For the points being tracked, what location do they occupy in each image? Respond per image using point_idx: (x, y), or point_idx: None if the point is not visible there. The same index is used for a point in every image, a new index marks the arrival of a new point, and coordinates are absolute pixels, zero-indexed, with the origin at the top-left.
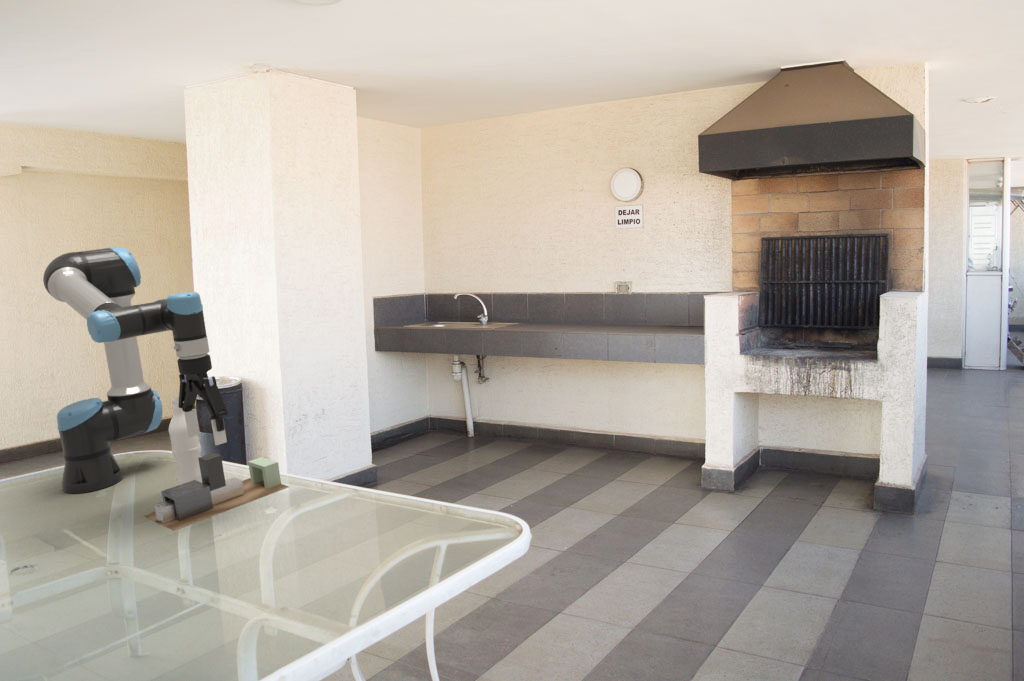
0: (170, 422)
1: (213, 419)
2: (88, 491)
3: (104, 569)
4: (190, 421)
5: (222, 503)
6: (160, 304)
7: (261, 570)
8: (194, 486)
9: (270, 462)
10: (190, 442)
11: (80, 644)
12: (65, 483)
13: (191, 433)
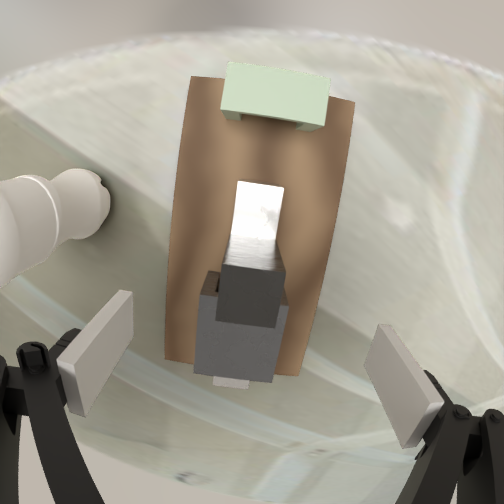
0: None
1: (417, 440)
2: None
3: (297, 454)
4: (105, 366)
5: None
6: None
7: (496, 359)
8: (249, 325)
9: (308, 88)
10: (42, 234)
11: (404, 485)
12: None
13: (127, 336)
